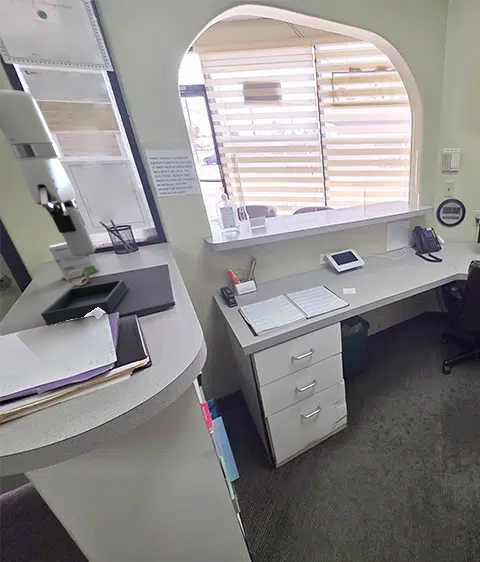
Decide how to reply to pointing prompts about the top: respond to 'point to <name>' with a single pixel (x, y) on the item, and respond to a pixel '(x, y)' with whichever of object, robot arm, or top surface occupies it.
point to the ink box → (71, 261)
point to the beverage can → (78, 235)
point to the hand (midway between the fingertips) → (72, 228)
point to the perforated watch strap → (84, 274)
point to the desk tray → (85, 301)
